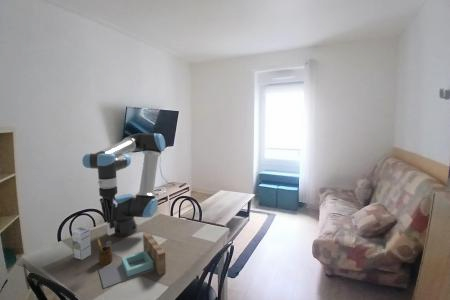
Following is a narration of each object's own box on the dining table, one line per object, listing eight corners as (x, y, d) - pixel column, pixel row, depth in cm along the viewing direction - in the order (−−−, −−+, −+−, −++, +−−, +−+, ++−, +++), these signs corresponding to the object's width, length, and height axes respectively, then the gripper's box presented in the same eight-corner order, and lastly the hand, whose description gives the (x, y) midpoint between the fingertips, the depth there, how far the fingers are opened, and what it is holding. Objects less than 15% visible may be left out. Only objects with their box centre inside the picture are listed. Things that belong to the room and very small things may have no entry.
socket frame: (121, 263, 111) (121, 258, 111) (146, 256, 118) (145, 250, 117) (127, 277, 102) (127, 270, 101) (153, 267, 108) (153, 261, 108)
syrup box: (91, 254, 119) (90, 227, 118) (81, 260, 114) (79, 233, 112) (83, 252, 121) (82, 226, 120) (73, 258, 116) (71, 231, 114)
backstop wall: (143, 251, 123) (143, 233, 122) (149, 249, 125) (148, 232, 124) (159, 275, 104) (158, 254, 103) (165, 272, 106) (165, 252, 104)
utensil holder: (109, 265, 111) (108, 241, 109) (96, 265, 110) (95, 242, 109) (114, 258, 116) (113, 235, 115) (101, 258, 116) (100, 236, 115)
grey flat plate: (98, 270, 106) (98, 270, 106) (146, 255, 119) (146, 254, 119) (103, 288, 95) (103, 287, 95) (155, 269, 108) (155, 268, 108)
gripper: (92, 185, 107) (96, 232, 110) (107, 191, 100) (111, 241, 103) (108, 182, 113) (111, 226, 116) (123, 187, 106) (126, 234, 109)
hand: (111, 233), depth 110 cm, fingers closed
